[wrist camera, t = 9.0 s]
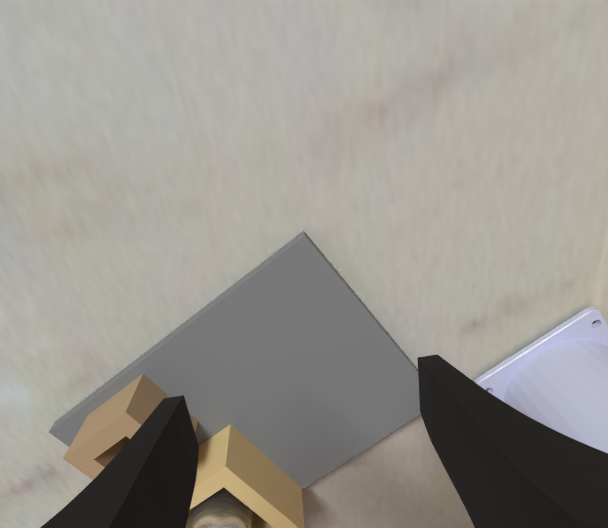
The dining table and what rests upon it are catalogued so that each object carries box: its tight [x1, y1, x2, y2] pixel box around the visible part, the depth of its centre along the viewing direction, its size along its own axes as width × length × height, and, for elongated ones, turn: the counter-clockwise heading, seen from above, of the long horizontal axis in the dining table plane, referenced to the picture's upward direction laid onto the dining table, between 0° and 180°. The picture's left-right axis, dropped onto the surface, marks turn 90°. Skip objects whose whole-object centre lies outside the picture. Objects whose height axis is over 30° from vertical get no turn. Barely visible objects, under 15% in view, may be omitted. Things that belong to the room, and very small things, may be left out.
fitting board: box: [49, 231, 421, 528], centre depth 23 cm, size 13×18×4 cm
